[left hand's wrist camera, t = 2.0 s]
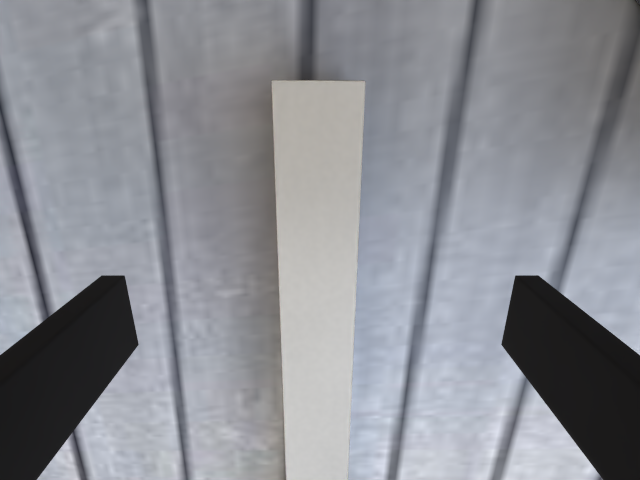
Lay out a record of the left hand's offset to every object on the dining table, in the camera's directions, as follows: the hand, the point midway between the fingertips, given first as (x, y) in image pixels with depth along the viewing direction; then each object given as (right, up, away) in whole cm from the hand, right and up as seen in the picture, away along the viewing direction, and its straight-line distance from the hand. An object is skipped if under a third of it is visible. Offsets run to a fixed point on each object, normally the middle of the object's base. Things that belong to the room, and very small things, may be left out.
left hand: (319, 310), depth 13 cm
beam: (0, -18, +24) cm, 30 cm away
